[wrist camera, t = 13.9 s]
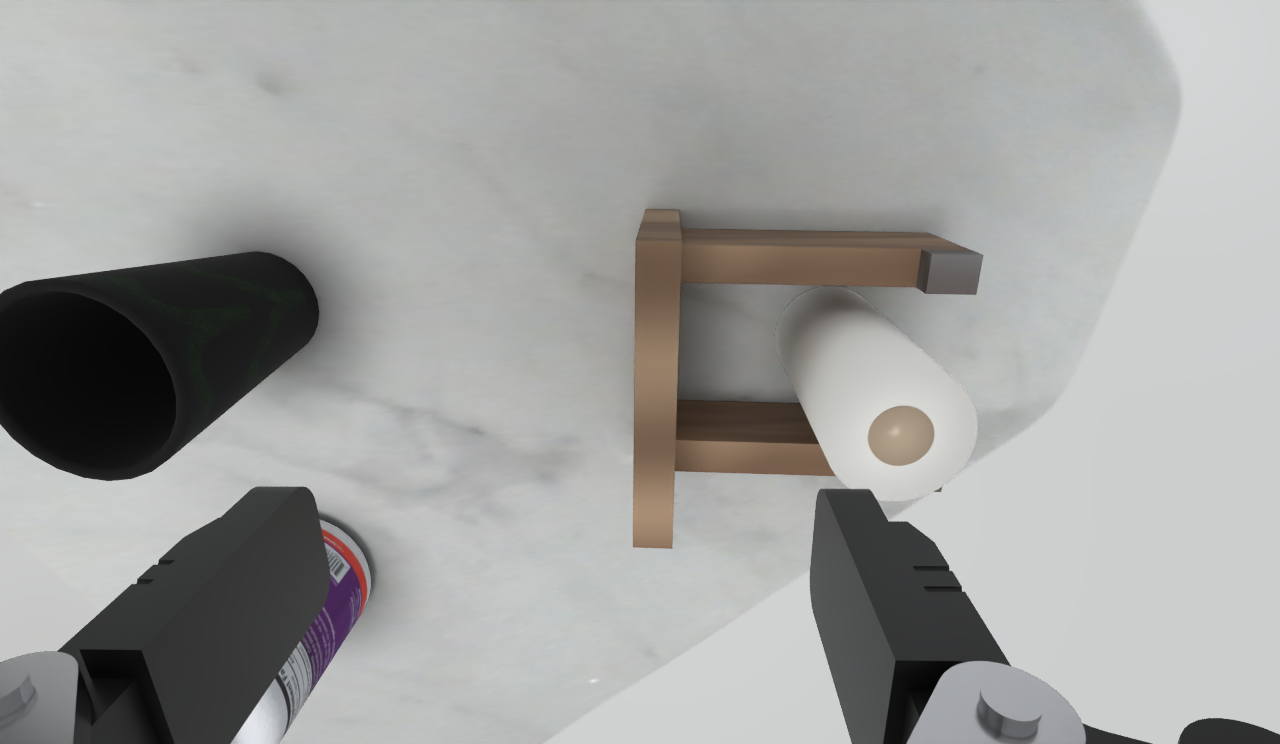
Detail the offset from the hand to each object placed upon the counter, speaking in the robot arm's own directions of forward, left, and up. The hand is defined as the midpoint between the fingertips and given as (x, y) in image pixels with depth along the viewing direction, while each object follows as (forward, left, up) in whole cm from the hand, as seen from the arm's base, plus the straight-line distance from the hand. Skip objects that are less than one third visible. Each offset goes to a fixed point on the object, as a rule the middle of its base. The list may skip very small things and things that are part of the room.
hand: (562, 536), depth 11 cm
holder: (+4, +7, -25) cm, 26 cm away
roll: (+4, +10, -25) cm, 27 cm away
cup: (+3, -19, -25) cm, 32 cm away
